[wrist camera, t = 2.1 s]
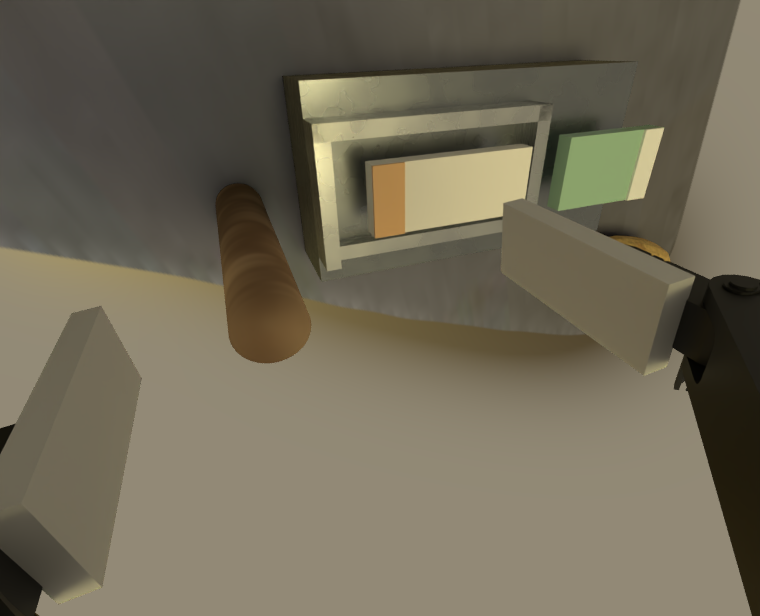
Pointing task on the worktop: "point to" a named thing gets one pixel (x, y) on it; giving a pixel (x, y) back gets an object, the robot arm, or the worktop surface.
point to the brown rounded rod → (257, 281)
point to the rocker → (444, 188)
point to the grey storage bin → (434, 145)
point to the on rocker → (603, 166)
